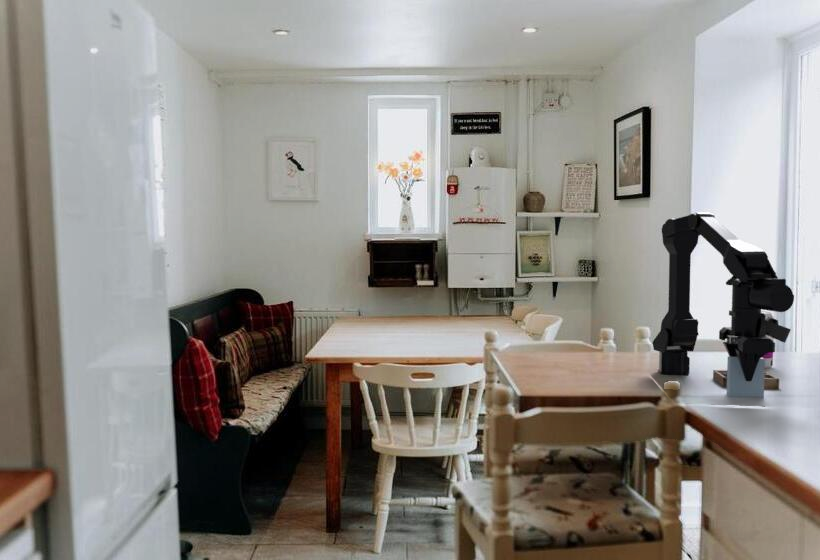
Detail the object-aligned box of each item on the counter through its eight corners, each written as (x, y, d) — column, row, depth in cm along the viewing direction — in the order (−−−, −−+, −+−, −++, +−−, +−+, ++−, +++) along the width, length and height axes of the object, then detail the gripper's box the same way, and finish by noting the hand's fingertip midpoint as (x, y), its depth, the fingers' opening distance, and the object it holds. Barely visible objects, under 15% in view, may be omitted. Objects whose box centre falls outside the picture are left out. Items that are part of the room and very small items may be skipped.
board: (729, 398, 148) (730, 358, 147) (726, 396, 150) (727, 356, 149) (763, 400, 147) (764, 358, 146) (760, 397, 149) (761, 357, 148)
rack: (724, 390, 155) (725, 378, 155) (712, 380, 166) (712, 369, 166) (781, 392, 153) (781, 380, 153) (764, 382, 164) (765, 370, 164)
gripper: (803, 312, 136) (801, 389, 137) (771, 303, 155) (769, 371, 156) (744, 311, 138) (742, 387, 139) (719, 302, 157) (717, 369, 158)
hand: (744, 378), depth 148 cm, fingers open, 6 cm apart
